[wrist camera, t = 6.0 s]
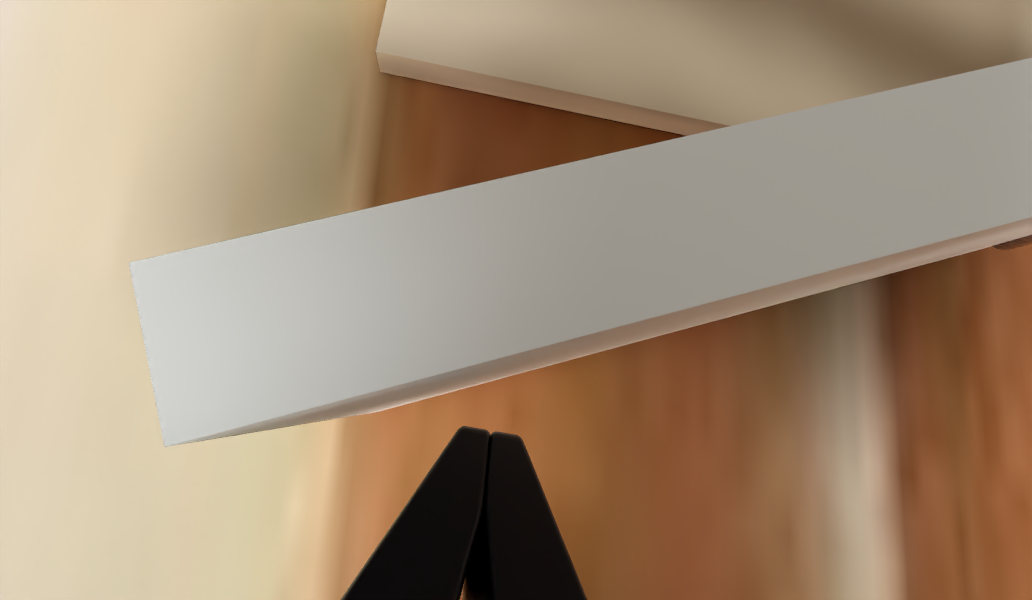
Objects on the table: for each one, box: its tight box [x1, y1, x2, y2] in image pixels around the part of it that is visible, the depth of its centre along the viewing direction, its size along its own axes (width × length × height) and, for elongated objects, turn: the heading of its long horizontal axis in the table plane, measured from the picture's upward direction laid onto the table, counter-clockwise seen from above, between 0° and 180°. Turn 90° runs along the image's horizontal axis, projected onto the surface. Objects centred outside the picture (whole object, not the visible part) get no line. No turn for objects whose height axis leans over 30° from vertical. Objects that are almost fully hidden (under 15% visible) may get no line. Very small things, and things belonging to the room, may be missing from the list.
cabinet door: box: [129, 58, 1032, 447], centre depth 11 cm, size 2×17×11 cm, turn 105°
